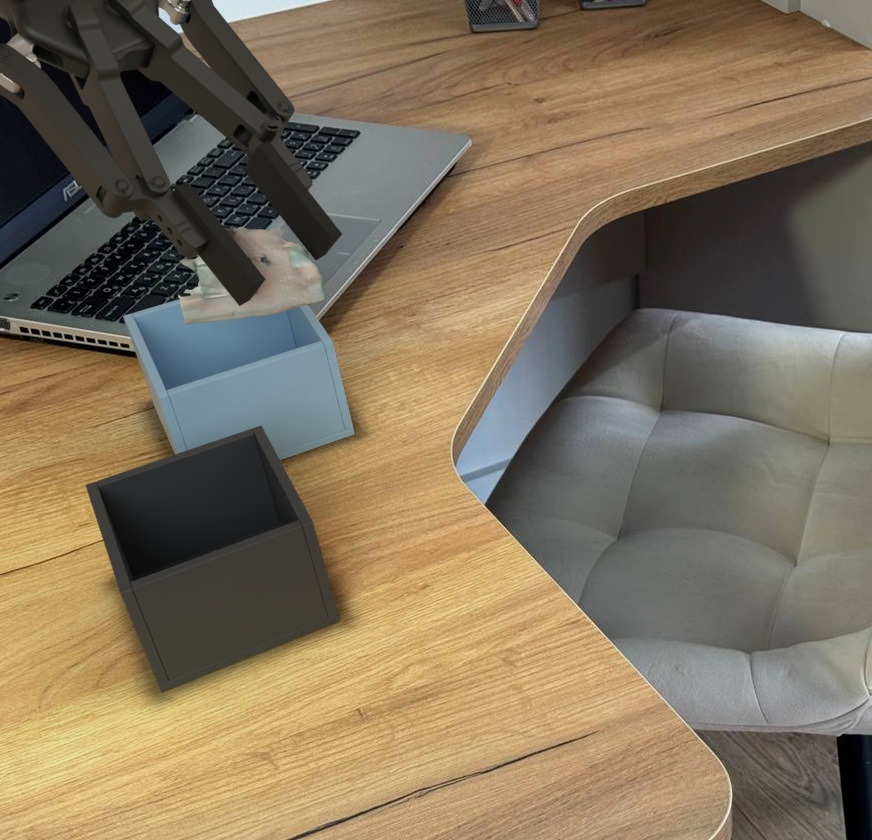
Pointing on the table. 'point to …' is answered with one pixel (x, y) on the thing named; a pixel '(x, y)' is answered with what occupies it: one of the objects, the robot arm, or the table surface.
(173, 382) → the paper bin
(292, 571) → the waste bin
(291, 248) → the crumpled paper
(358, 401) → the table surface
